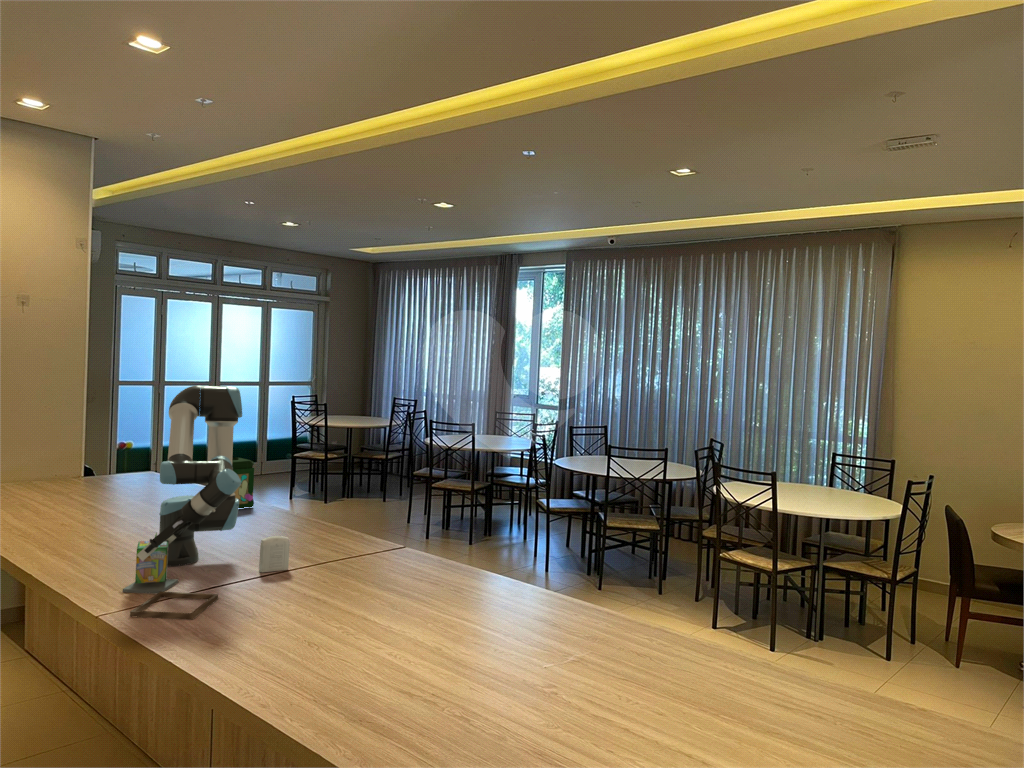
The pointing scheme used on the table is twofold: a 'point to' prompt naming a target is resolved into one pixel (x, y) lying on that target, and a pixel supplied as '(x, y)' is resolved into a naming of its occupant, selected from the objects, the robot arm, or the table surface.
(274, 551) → the white tombstone
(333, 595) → the table surface
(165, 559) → the chalk box
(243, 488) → the container
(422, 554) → the table surface
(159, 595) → the holder frame
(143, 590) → the mat
